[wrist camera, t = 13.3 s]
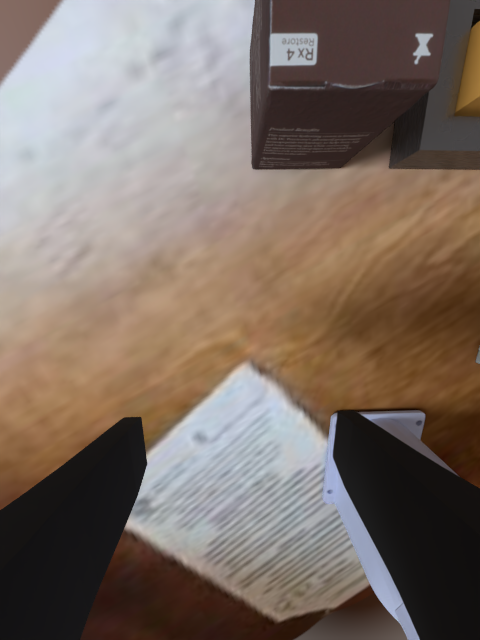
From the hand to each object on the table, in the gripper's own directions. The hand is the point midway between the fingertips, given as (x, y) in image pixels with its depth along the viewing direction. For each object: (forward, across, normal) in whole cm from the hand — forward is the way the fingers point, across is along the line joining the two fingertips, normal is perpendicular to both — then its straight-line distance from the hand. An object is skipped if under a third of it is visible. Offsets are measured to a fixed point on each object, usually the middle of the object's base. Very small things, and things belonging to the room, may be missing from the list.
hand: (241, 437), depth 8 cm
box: (+10, -4, -15) cm, 18 cm away
